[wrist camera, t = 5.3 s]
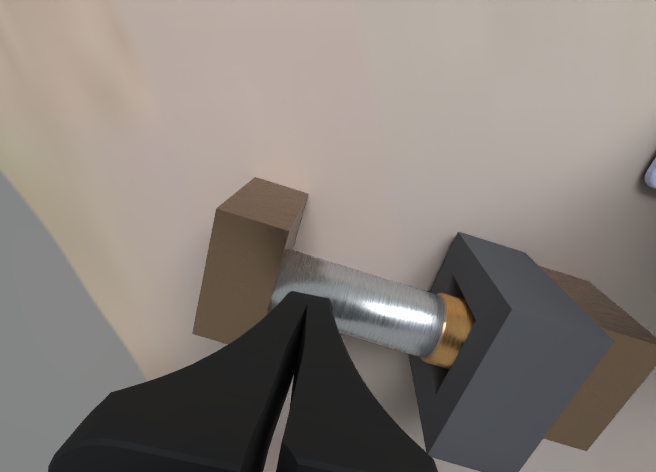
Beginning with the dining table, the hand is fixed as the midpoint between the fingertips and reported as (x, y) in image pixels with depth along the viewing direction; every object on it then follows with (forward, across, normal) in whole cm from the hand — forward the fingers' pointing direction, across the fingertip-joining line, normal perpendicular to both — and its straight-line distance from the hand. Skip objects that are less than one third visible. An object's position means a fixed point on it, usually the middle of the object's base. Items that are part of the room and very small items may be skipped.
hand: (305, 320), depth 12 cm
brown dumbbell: (+5, -4, 0) cm, 7 cm away
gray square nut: (+5, -7, +1) cm, 9 cm away
